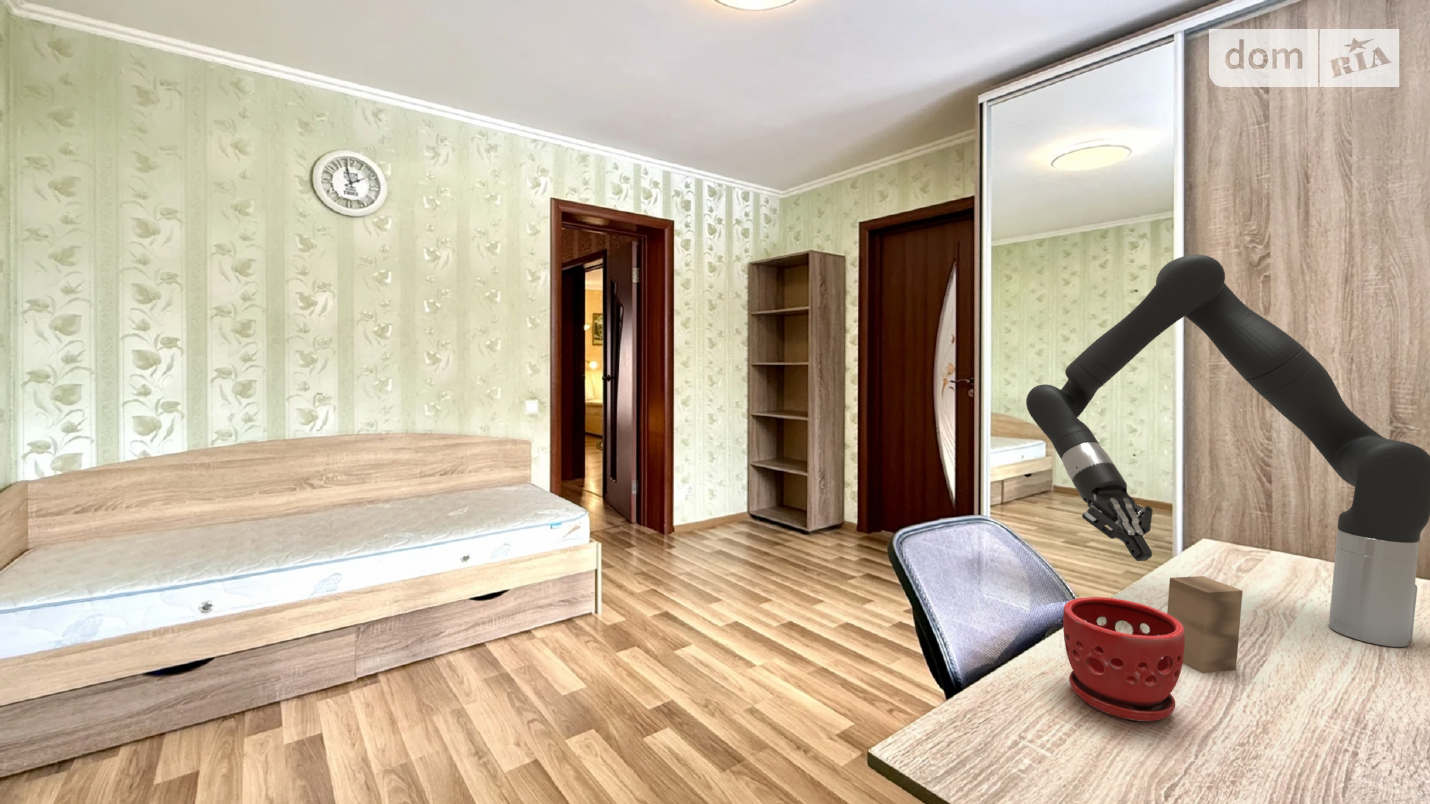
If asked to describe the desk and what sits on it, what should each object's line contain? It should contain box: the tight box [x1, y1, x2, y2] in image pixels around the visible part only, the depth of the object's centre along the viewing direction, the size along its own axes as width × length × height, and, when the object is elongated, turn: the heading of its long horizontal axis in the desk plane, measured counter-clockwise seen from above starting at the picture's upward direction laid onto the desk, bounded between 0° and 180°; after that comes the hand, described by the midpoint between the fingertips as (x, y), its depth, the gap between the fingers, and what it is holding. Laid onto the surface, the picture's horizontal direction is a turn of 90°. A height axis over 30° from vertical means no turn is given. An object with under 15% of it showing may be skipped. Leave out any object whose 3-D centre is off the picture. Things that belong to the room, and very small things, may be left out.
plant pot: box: [1062, 596, 1185, 722], centre depth 79 cm, size 13×13×12 cm
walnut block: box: [1167, 575, 1243, 674], centre depth 91 cm, size 6×6×12 cm
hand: (1145, 558), depth 101 cm, fingers closed
